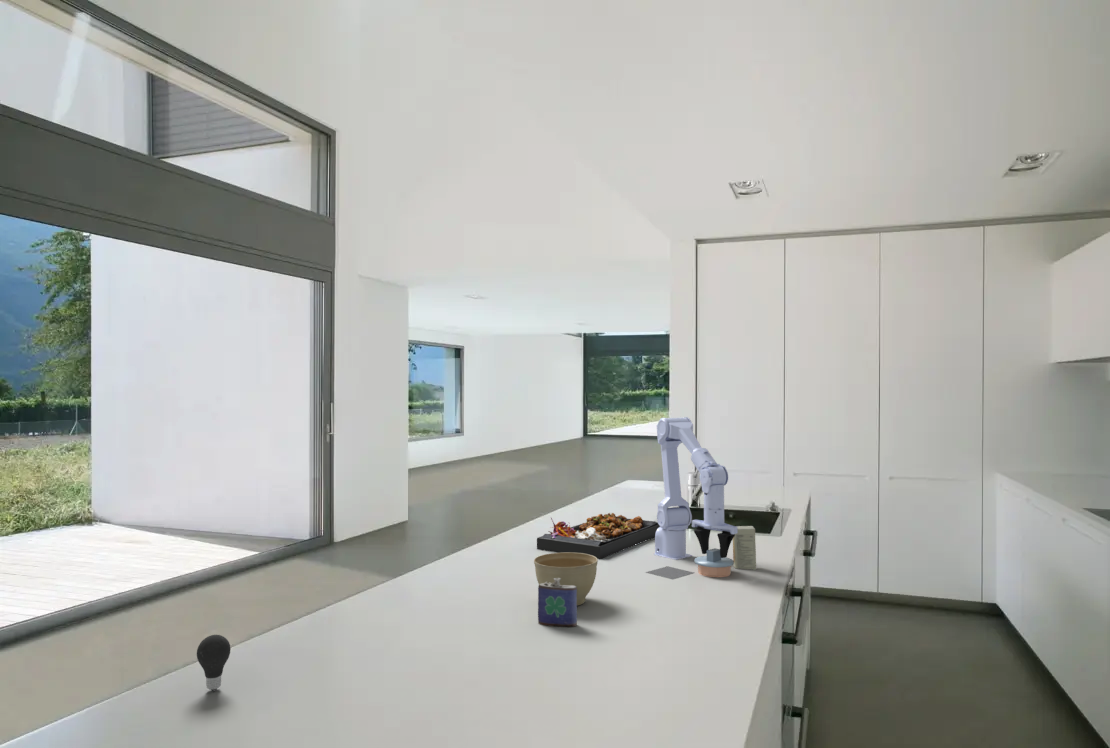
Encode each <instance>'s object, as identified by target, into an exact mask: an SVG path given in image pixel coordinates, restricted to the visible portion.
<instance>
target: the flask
mask: <svg viewBox="0 0 1110 748" xmlns="http://www.w3.org/2000/svg"><path fill="white" fill-rule="evenodd" d="M554 580H555V581H554V582H553V583H550V582H549V583H550V584H549V583H547V582H545V583H541V584H538V587H537V591H538V592H537V593H538V595H537V598H538V599H537V622H538V623H537V624H538V625H541V626H549V627H555V626H556V627H563V628H564V627H565V628H566V627H567V628H574V626H575V627H576V626H577V624H578V618H577V617H578V613H577V611H578V608H577V607H578V605H577V587H576V586H573V585H560V580H561V578H554Z"/></svg>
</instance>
